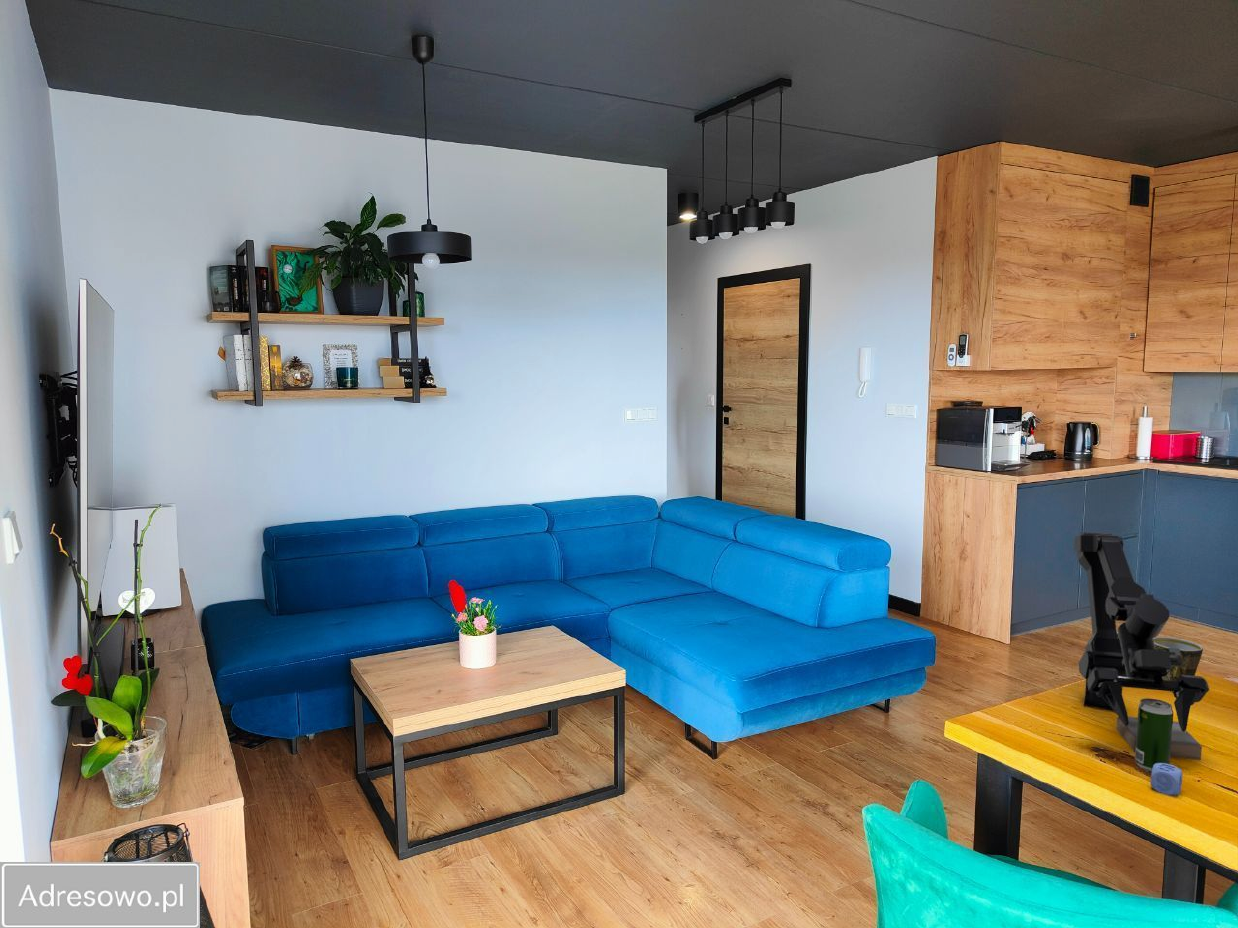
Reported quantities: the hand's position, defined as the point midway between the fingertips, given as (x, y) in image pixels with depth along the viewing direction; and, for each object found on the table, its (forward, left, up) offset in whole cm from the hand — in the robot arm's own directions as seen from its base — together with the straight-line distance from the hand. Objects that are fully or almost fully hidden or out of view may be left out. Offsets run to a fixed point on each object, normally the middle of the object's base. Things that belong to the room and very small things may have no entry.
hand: (1155, 727), depth 149 cm
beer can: (0, 0, -8) cm, 8 cm away
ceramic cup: (+5, +51, -8) cm, 52 cm away
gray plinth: (+1, +12, -8) cm, 15 cm away
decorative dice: (+2, -9, -8) cm, 12 cm away
